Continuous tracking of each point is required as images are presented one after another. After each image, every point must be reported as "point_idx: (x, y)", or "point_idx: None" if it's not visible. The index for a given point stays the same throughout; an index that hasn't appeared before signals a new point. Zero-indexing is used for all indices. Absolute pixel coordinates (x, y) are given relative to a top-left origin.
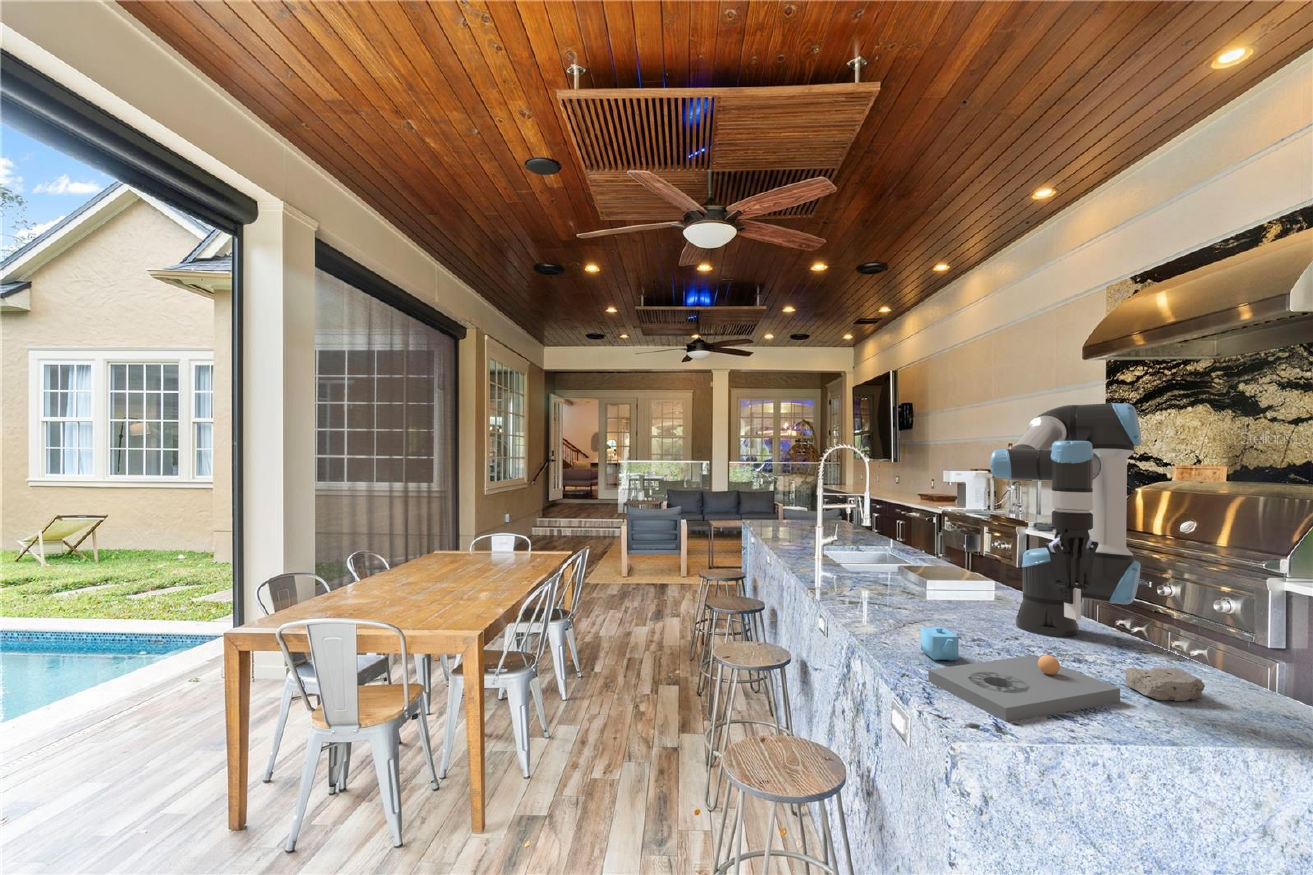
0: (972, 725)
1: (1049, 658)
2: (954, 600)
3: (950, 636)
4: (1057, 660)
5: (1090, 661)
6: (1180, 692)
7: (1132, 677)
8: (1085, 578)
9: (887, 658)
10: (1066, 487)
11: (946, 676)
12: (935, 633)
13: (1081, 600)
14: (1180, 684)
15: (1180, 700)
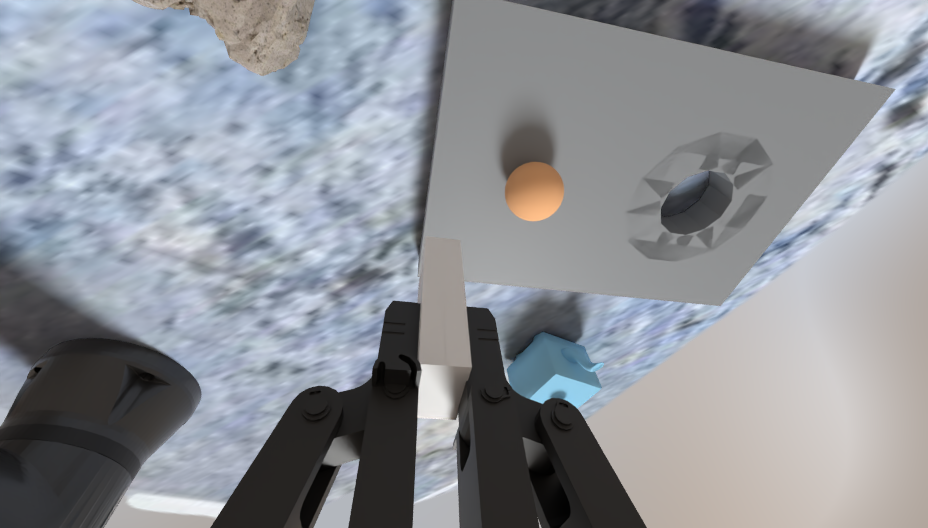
0: (902, 116)
1: (554, 194)
2: (211, 499)
3: (568, 379)
4: (528, 181)
5: (214, 224)
6: None
7: (292, 32)
8: (324, 451)
9: (624, 376)
10: None
11: (738, 271)
12: (574, 397)
13: (388, 310)
14: None
15: None
